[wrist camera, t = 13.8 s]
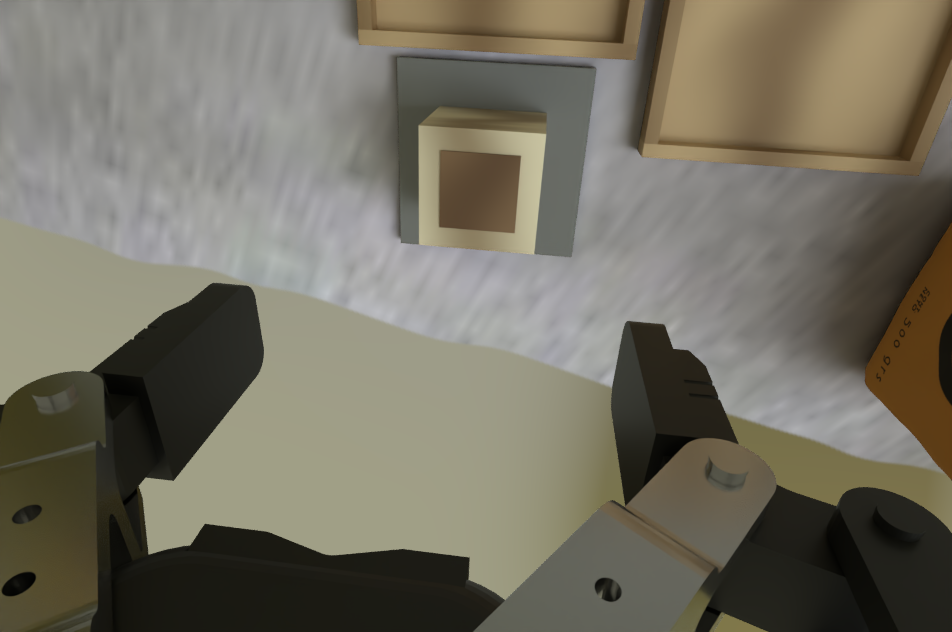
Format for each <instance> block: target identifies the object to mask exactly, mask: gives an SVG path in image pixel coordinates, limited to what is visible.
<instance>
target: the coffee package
mask: <svg viewBox="0 0 952 632" xmlns="http://www.w3.org/2000/svg"><path fill="white" fill-rule="evenodd" d="M865 383H866V385H867V387H868V388H869V389H870V391H871V392H872V393H873V394H874V395H875V396H876V397H877V398H878V399H879V400H880V401H881V402H882V403H883V404H884V405H885V406H886V407H887V408H888V409H889V410H890V411H891V413H892V414H893V415H894V416H895V417H896V418H897V419H898V420H899V421H900V422H901V423H902V424H903V425H904V426H905V427H906V428H907V429H908V430H909V431H910V432H911V433H912V434H913V435H914V436H915V437H916V438H917V440H918V441H919V442H920V443H921V445H922V446H923V447H924V448H925V450H926V451H927V452H928V454H929V455H930V456H931V458H932V459H933V460H934V462H935V463H936V464H937V465H938V466H939V467H940V468H941V469H942V470H943V471H944V472H945V473H946V474H947V475H948V477H949V478H950V479H951V480H952V222H951V224H950V226H949V228H948V229H947V231H946V232H945V234H944V235H943V237H942V238H941V240H940V241H939V243H938V244H937V246H936V248H935V250H934V252H933V254H932V255H931V257H930V258H929V260H928V261H927V263H926V264H925V265H924V267H923V268H922V270H921V272H920V273H919V275H918V276H917V278H916V280H915V281H914V283H913V284H912V286H911V287H910V289H909V290H908V292H907V294H906V295H905V297H904V299H903V300H902V302H901V304H900V306H899V308H898V310H897V312H896V313H895V315H894V317H893V319H892V321H891V323H890V325H889V326H888V328H887V330H886V332H885V334H884V336H883V338H882V340H881V341H880V343H879V345H878V347H877V348H876V350H875V352H874V354H873V356H872V357H871V359H870V361H869V362H868V364H867V366H866V369H865Z"/></svg>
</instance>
